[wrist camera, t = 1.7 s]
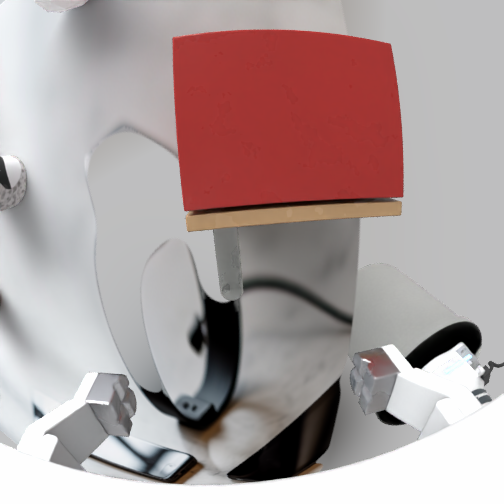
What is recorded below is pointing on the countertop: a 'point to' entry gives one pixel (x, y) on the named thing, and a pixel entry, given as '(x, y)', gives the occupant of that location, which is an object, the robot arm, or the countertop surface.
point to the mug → (11, 182)
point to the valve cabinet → (285, 118)
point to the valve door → (274, 213)
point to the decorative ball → (59, 4)
